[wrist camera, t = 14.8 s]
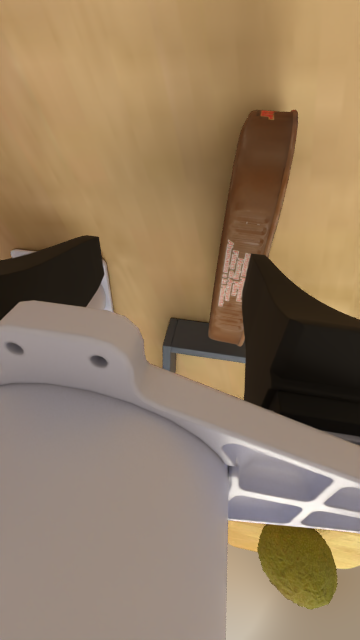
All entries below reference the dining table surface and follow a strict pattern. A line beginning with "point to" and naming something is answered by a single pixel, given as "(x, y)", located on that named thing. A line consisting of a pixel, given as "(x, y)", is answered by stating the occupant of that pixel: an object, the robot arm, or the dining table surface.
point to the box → (196, 344)
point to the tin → (251, 212)
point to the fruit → (298, 564)
